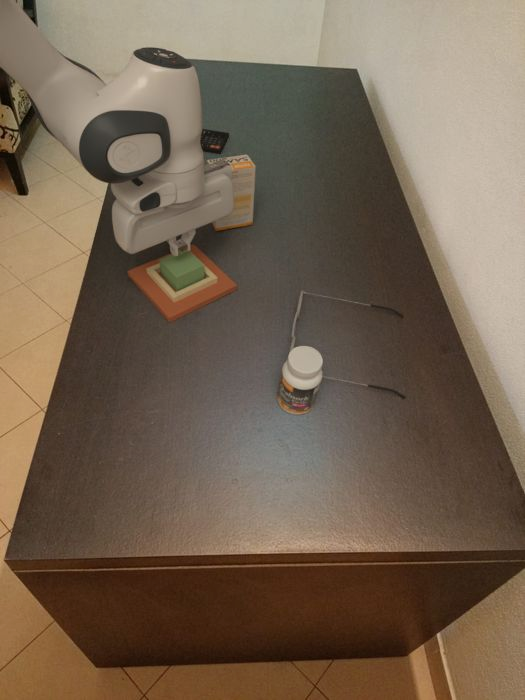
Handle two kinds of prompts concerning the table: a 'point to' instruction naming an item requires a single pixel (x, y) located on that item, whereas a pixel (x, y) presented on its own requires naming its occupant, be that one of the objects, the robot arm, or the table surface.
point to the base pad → (184, 299)
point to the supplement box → (239, 193)
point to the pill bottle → (300, 380)
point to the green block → (181, 270)
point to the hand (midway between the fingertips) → (180, 251)
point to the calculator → (213, 141)
